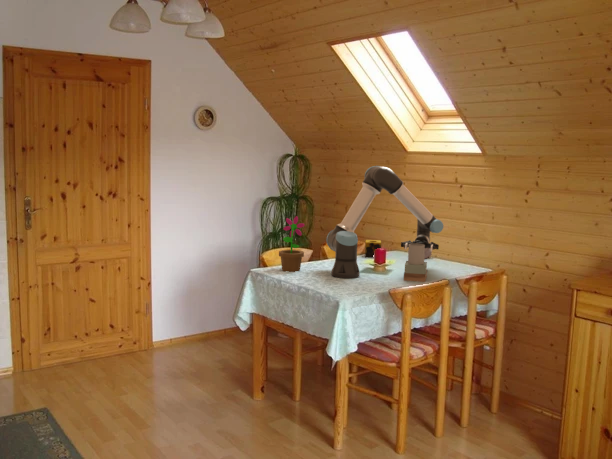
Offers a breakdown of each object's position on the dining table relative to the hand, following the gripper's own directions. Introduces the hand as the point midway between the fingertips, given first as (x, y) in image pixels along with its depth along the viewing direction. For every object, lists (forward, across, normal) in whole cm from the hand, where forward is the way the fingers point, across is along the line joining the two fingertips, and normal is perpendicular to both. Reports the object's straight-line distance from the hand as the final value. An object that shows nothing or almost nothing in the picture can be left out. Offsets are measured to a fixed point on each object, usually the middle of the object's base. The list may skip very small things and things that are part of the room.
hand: (418, 248), depth 337 cm
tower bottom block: (+1, +1, -17) cm, 17 cm away
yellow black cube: (-58, +33, -17) cm, 68 cm away
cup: (+1, +1, -8) cm, 8 cm away
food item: (-64, +3, -17) cm, 66 cm away
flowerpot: (+3, +69, -17) cm, 71 cm away
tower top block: (+1, +1, -13) cm, 13 cm away
